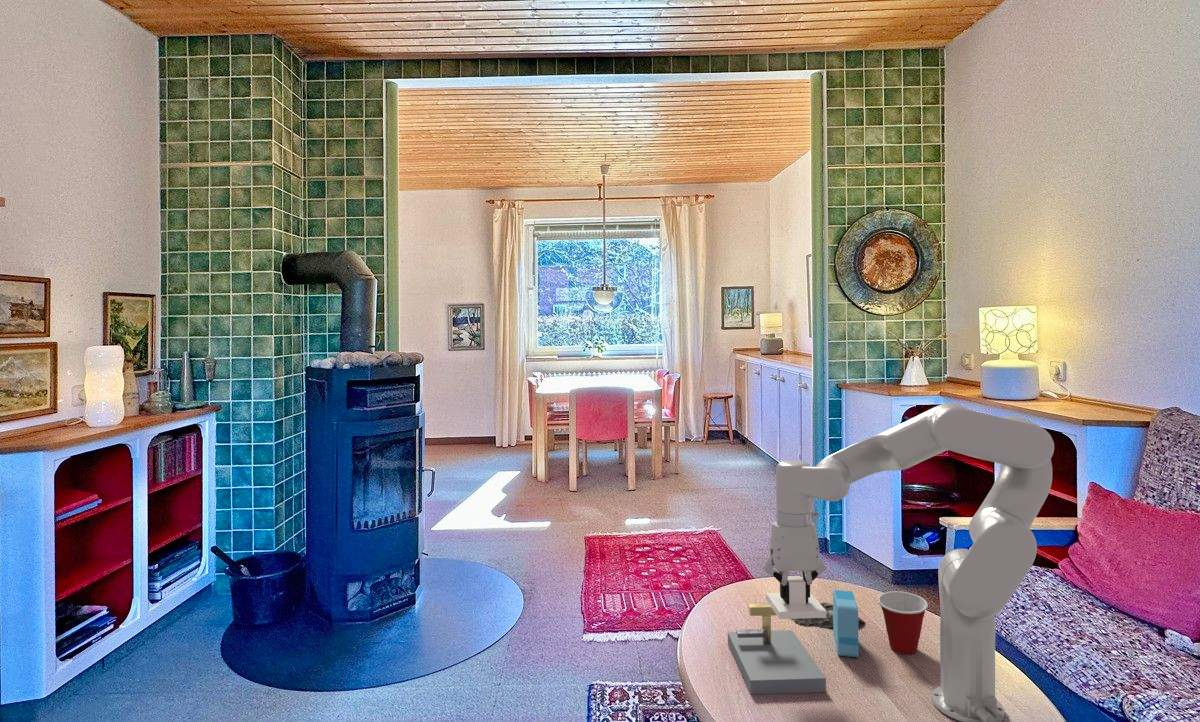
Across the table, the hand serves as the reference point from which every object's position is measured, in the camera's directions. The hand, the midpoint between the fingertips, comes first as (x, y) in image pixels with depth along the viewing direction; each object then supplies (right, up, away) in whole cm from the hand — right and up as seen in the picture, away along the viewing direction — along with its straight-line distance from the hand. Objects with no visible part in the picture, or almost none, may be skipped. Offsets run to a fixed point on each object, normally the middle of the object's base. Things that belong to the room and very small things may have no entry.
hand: (795, 600), depth 137 cm
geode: (+18, -17, +31) cm, 40 cm away
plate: (-3, -17, +6) cm, 19 cm away
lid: (0, -2, 0) cm, 2 cm away
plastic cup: (+30, -17, +12) cm, 36 cm away
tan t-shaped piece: (-5, -14, +11) cm, 18 cm away
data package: (+17, -17, +14) cm, 28 cm away
